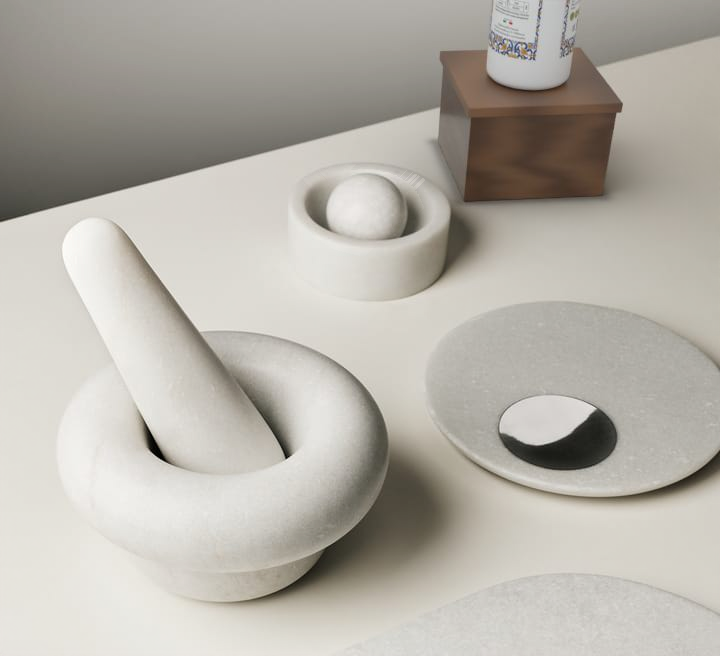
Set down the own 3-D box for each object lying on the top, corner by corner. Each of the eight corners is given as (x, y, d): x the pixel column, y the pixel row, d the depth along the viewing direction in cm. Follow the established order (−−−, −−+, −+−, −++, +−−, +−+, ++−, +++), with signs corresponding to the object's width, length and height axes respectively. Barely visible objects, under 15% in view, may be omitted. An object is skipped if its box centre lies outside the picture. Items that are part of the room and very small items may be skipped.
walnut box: (567, 135, 106) (580, 46, 101) (606, 197, 97) (623, 103, 92) (433, 140, 105) (439, 50, 100) (460, 203, 96) (469, 108, 90)
